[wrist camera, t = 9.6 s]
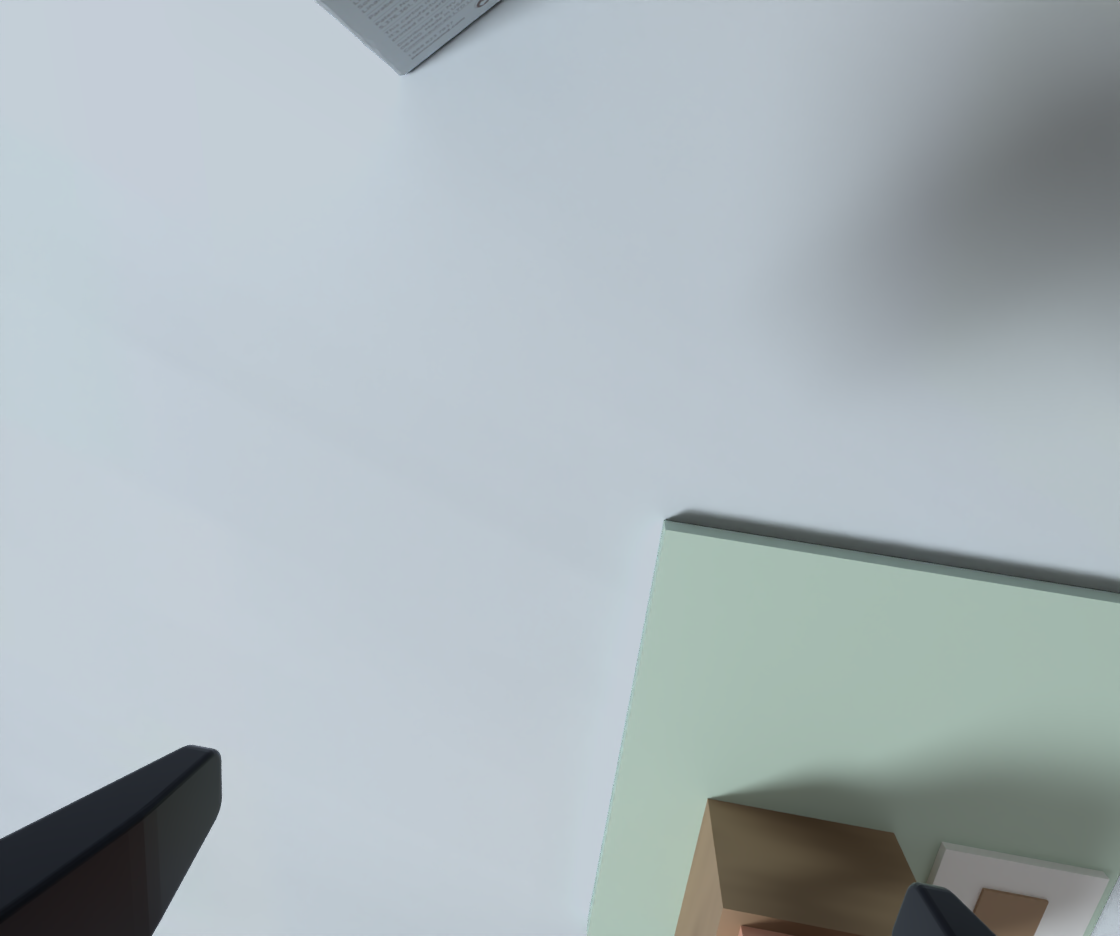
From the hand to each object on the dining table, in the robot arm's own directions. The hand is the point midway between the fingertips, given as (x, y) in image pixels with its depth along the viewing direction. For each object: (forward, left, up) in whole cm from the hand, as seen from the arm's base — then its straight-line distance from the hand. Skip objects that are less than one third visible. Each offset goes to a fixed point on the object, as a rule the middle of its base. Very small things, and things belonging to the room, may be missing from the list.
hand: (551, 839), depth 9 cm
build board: (-10, +8, -12) cm, 18 cm away
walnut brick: (-8, +12, -12) cm, 19 cm away
